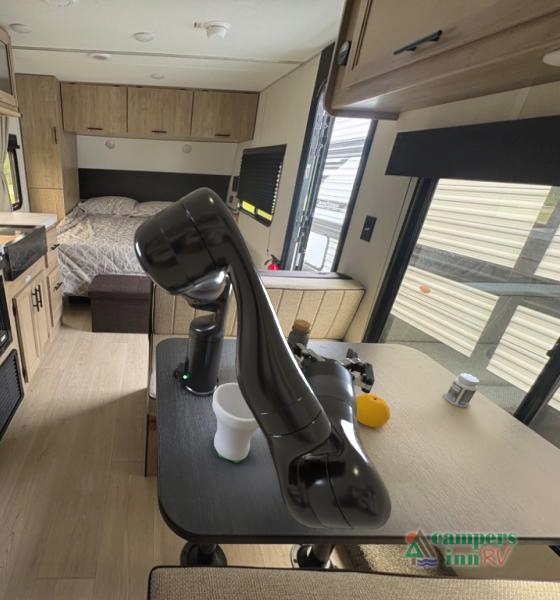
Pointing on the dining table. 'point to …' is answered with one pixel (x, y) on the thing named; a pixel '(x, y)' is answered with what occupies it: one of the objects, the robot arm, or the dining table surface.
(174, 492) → the dining table surface
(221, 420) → the cup
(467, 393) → the pill bottle
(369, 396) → the orange fruit
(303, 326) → the bottle
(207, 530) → the dining table surface
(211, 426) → the dining table surface
